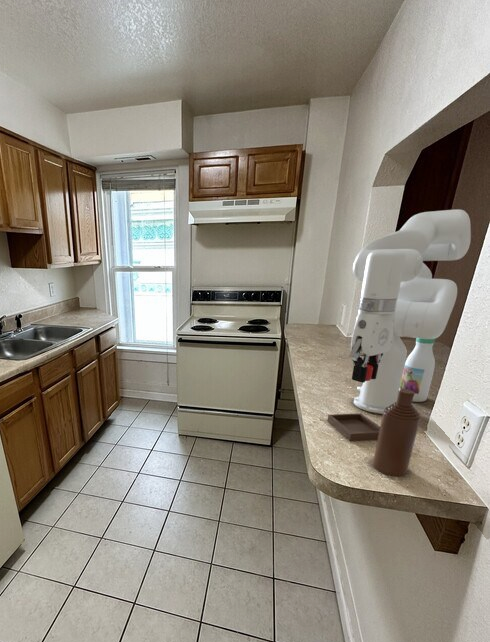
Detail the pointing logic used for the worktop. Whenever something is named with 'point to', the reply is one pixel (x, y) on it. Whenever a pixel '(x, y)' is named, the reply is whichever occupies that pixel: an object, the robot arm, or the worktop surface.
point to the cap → (369, 372)
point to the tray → (354, 426)
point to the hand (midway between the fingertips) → (363, 378)
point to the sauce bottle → (397, 435)
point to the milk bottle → (419, 369)
